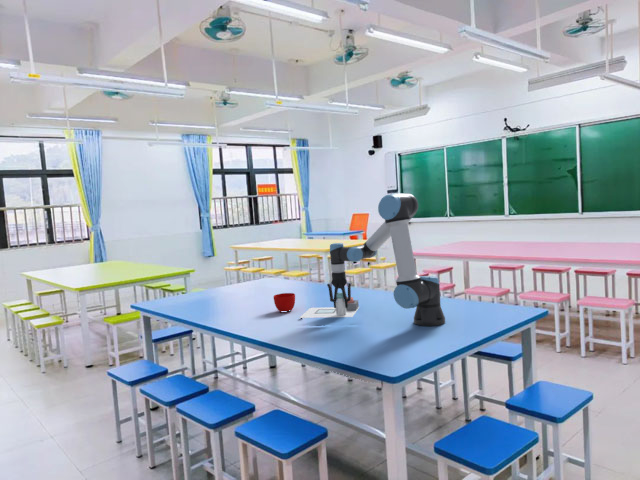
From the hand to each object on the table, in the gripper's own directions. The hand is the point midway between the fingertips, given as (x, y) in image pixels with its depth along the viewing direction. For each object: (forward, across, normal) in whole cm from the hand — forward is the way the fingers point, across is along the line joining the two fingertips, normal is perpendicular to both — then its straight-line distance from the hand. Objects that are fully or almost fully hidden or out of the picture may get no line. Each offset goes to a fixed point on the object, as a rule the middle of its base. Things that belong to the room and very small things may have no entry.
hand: (341, 313), depth 253 cm
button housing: (+1, -2, -14) cm, 14 cm away
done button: (-1, -2, -14) cm, 14 cm away
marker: (+1, 0, 0) cm, 1 cm away
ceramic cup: (+2, +38, -18) cm, 42 cm away
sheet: (+2, +8, -7) cm, 11 cm away
